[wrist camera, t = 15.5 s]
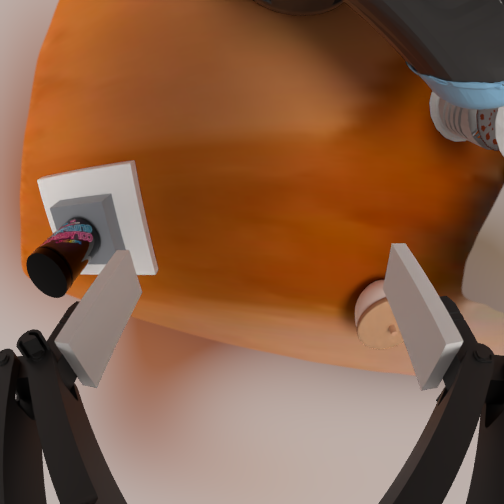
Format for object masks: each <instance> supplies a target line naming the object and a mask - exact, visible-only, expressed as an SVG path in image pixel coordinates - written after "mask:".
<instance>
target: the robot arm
mask: <svg viewBox="0 0 504 504" xmlns="http://www.w3.org/2000/svg"><path fill="white" fill-rule="evenodd" d="M254 1H255V2H257V3H258V4H260V5H262V6H264V7H266V8H268V9H270V10H273V11H276V12H279V13H283V14H289V15H298V16H306V15H316V14H320V13H324V12H327V11H330V10H332V9H334V8H336V7H338V6H339V5H341V4H342V3H343V2H345V3H346V4H347V5H349V6H350V7H351V8H352V9H353V10H354V11H356V12H357V13H358V14H359V15H360V16H361V17H362V18H363V19H365V20H366V21H367V22H368V23H369V24H370V25H371V26H372V27H373V28H374V29H375V30H376V31H377V32H378V33H379V34H380V35H382V36H383V37H384V38H385V39H386V40H387V41H388V42H389V44H390V45H391V46H392V47H393V48H394V49H395V50H396V51H397V52H398V53H399V54H400V55H401V56H402V57H403V58H404V59H405V61H406V64H407V66H408V67H409V68H410V69H411V70H412V71H413V72H414V73H416V74H417V75H419V76H420V77H421V78H422V79H423V80H424V81H425V82H426V84H427V85H428V86H429V87H430V88H431V89H432V91H433V92H434V93H435V94H436V95H437V96H438V97H440V98H441V99H443V100H445V101H447V102H448V103H450V104H452V105H454V106H457V107H461V108H466V109H480V110H481V109H493V108H499V107H503V106H504V0H254ZM383 291H384V293H385V295H386V298H387V300H388V302H389V305H390V307H391V310H392V312H393V315H394V317H395V320H396V322H397V325H398V327H399V330H400V332H401V335H402V338H403V340H404V343H405V345H406V348H407V351H408V354H409V356H410V359H411V362H412V365H413V368H414V371H415V374H416V376H417V379H418V382H419V385H420V388H421V391H422V390H427V389H432V388H437V387H438V385H439V384H440V382H441V380H442V379H443V380H444V383H445V388H444V389H443V391H442V393H441V394H440V395H439V397H438V398H437V400H436V401H437V404H436V407H435V409H434V411H433V413H432V415H431V417H430V419H429V421H428V423H427V425H426V427H425V429H424V431H423V433H422V435H421V437H420V438H419V440H418V442H417V444H416V446H415V447H414V449H413V451H412V453H411V455H410V456H409V458H408V459H407V461H406V463H405V465H404V466H403V468H402V469H401V471H400V473H399V474H398V476H397V477H396V479H395V480H394V482H393V483H392V485H391V486H390V488H389V489H388V491H387V492H386V494H385V495H384V497H383V498H382V499H381V501H380V502H379V504H442V503H443V501H444V499H445V497H446V495H447V493H448V491H449V489H450V487H451V485H452V483H453V481H454V479H455V477H456V475H457V473H458V471H459V469H460V466H461V464H462V462H463V459H464V457H465V455H466V452H467V450H468V447H469V445H470V442H471V440H472V437H473V434H474V432H475V429H476V426H477V423H478V420H479V417H480V427H479V436H478V444H477V451H476V457H475V463H474V469H473V474H472V479H471V485H470V489H469V493H468V498H467V501H466V504H504V356H500V355H494V354H493V352H492V350H491V349H490V348H489V347H487V346H486V345H484V344H480V343H477V341H476V339H475V337H474V335H473V333H472V332H471V330H470V328H469V326H468V324H467V323H466V321H465V320H464V318H463V316H462V314H461V313H460V311H459V309H458V307H457V306H456V304H455V303H454V302H453V301H452V300H451V299H450V298H448V297H447V296H442V297H439V296H438V294H437V292H436V291H435V289H434V287H433V286H432V284H431V282H430V281H429V279H428V278H427V276H426V274H425V273H424V271H423V270H422V268H421V266H420V265H419V263H418V262H417V260H416V259H415V257H414V256H413V254H412V253H411V251H410V250H409V248H408V247H407V245H406V244H405V243H400V244H392V245H391V250H390V255H389V261H388V266H387V271H386V275H385V280H384V285H383ZM141 294H142V290H141V287H140V284H139V281H138V277H137V274H136V271H135V268H134V264H133V261H132V257H131V254H130V250H117V251H116V252H115V253H114V255H113V256H112V257H111V259H110V260H109V261H108V263H107V264H106V265H105V267H104V268H103V270H102V271H101V272H100V274H99V275H98V276H97V278H96V279H95V281H94V282H93V283H92V285H91V286H90V288H89V289H88V291H87V292H86V293H85V295H84V296H83V298H82V299H81V301H80V302H75V303H74V304H73V305H72V306H71V307H69V308H68V310H67V311H66V313H65V314H64V316H63V317H62V319H61V320H60V322H59V324H58V325H57V326H56V328H55V329H54V331H53V332H52V334H51V335H50V337H49V339H48V340H47V342H46V340H45V338H44V337H43V335H42V333H41V332H40V331H39V330H30V331H27V332H26V333H24V334H23V335H22V336H21V337H20V338H19V340H18V342H17V348H18V349H19V350H20V352H21V354H22V355H23V356H18V357H17V356H16V355H15V353H14V352H13V350H11V349H4V350H2V351H0V504H47V503H46V495H45V487H44V475H43V461H42V449H43V453H44V457H45V460H46V464H47V467H48V470H49V473H50V477H51V480H52V483H53V485H54V488H55V491H56V494H57V496H58V499H59V502H60V504H127V503H126V501H125V499H124V497H123V495H122V493H121V492H120V490H119V488H118V486H117V484H116V482H115V480H114V478H113V476H112V474H111V472H110V470H109V467H108V465H107V463H106V461H105V459H104V457H103V454H102V452H101V450H100V447H99V445H98V443H97V440H96V438H95V435H94V433H93V430H92V428H91V425H90V423H89V420H88V417H87V415H86V412H85V409H84V407H83V403H82V401H81V397H80V394H79V391H78V388H77V386H76V385H75V383H74V382H75V380H76V378H77V377H78V379H79V380H80V382H81V383H82V384H83V385H85V386H90V387H95V388H97V387H98V384H99V382H100V380H101V377H102V375H103V373H104V371H105V368H106V366H107V364H108V362H109V360H110V357H111V355H112V353H113V351H114V348H115V347H116V344H117V342H118V340H119V338H120V336H121V334H122V332H123V330H124V328H125V326H126V324H127V321H128V320H129V318H130V316H131V314H132V311H133V309H134V308H135V306H136V304H137V302H138V300H139V298H140V296H141ZM15 394H16V395H17V397H16V399H15ZM480 414H481V415H480Z"/></svg>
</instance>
